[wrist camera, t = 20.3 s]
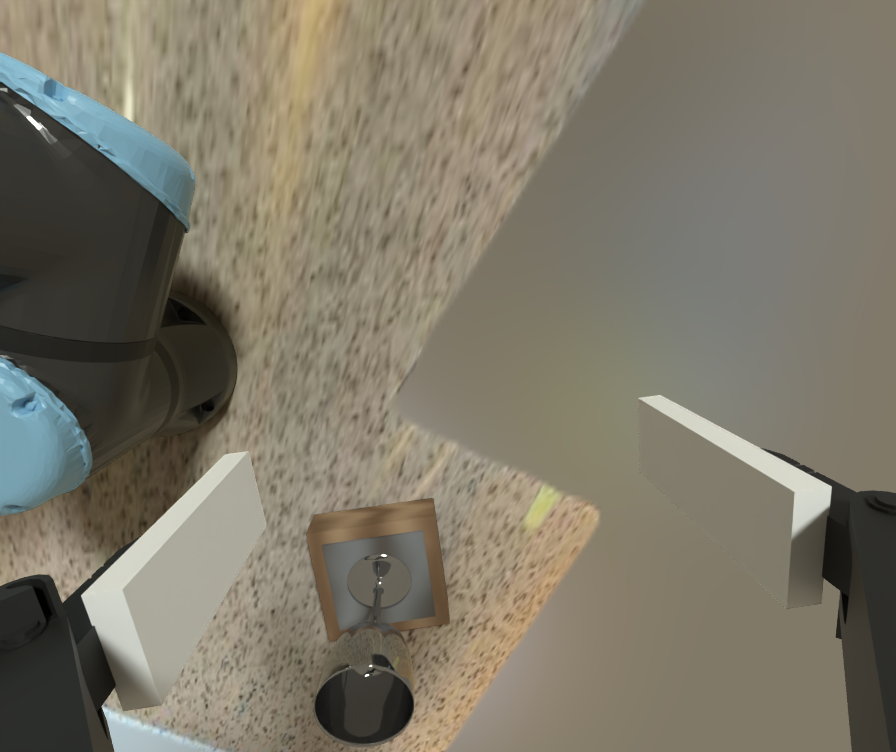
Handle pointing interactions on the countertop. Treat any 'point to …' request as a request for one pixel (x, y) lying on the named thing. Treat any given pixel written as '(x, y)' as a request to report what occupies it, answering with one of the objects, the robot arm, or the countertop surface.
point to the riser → (379, 532)
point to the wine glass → (369, 663)
